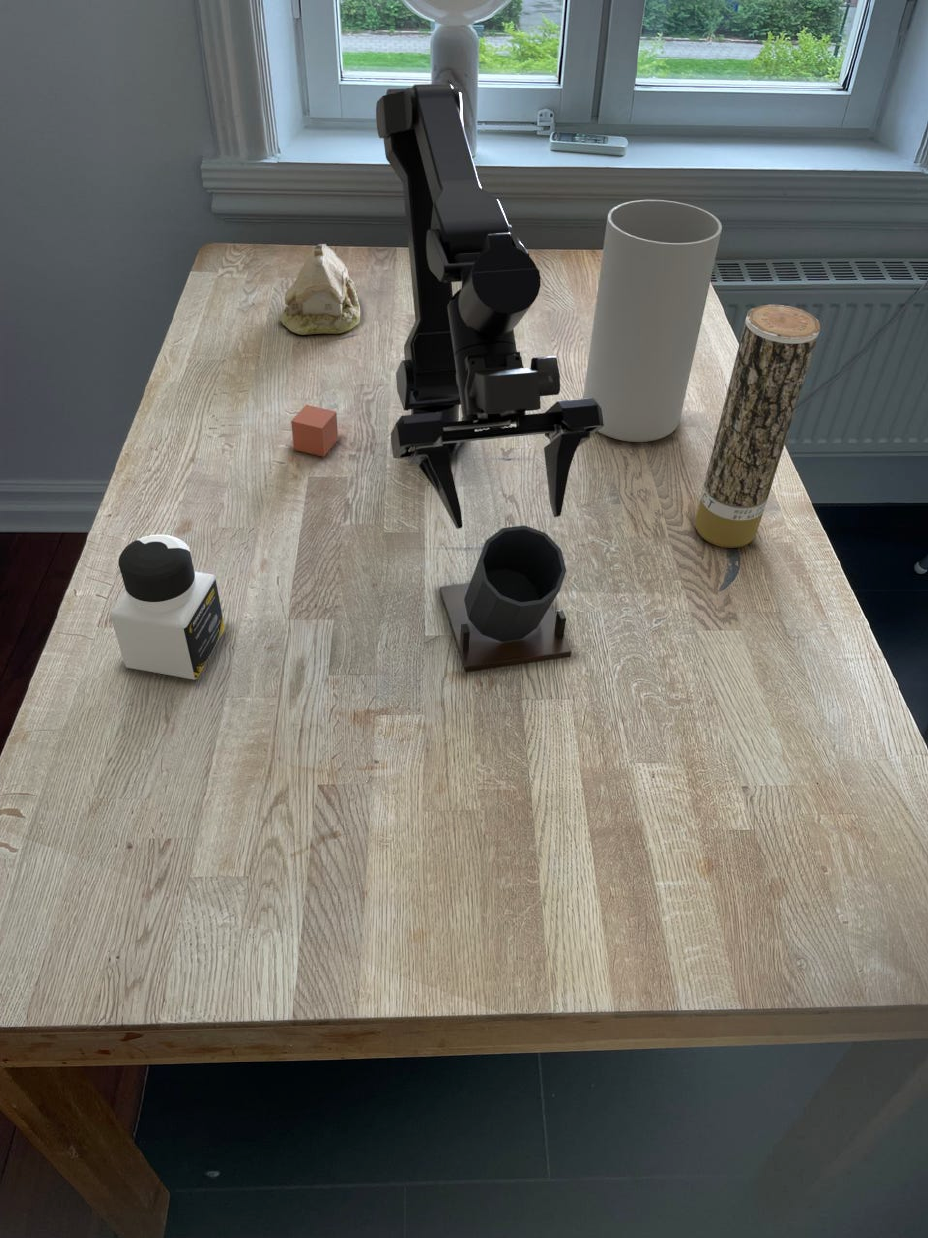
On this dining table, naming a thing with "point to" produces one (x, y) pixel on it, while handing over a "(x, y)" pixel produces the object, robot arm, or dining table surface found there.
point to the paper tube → (755, 422)
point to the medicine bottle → (166, 609)
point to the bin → (514, 583)
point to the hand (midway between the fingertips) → (508, 522)
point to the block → (314, 430)
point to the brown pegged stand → (494, 653)
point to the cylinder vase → (649, 315)
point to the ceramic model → (321, 296)
